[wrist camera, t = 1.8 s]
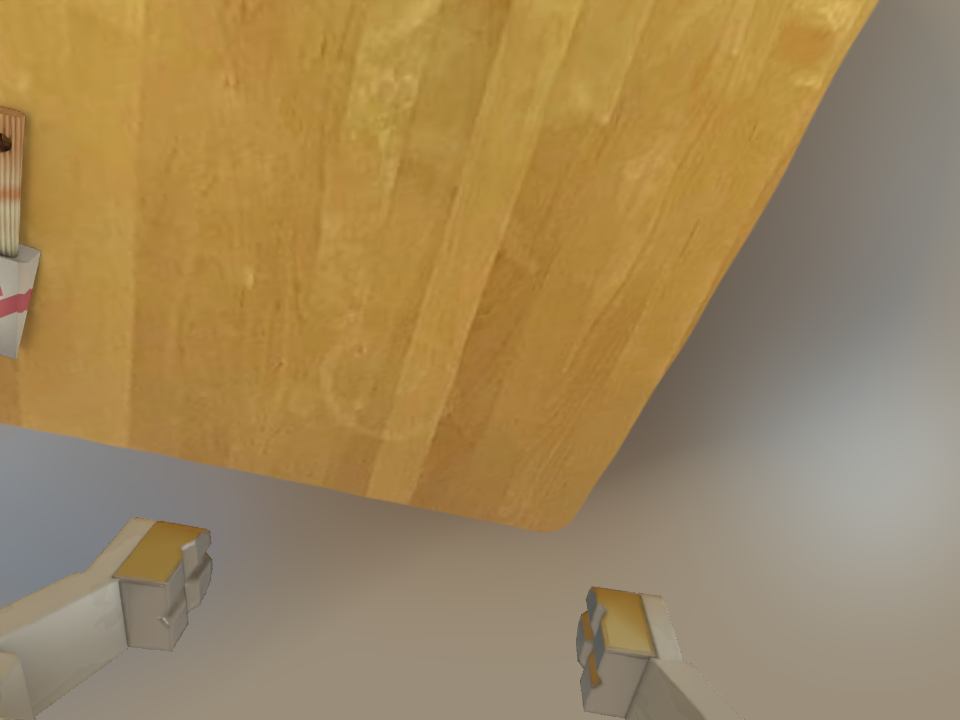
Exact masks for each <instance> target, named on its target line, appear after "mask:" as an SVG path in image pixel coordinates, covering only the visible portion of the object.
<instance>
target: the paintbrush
mask: <svg viewBox="0 0 960 720" xmlns="http://www.w3.org/2000/svg"><path fill="white" fill-rule="evenodd" d="M24 129H25V116H24V115H23V114H22V113H20V112H18V111H16V110H12V109H10V108H5V107H0V355H3V356H7V357H10V358H14V359H17V354H18V350H19V346H20V341H21V337H22V333H23V328H24V324H25V319H26V315H27V311H28V306H29V302H30V298H31V293H32V289H33V285H34V280H35V276H36V272H37V267H38V263H39V259H40V254H41V251H40V250H37V249H34V248H31V247H28V246H24V245H21V244H19V225H20V201H21V180H22V163H23V146H24ZM2 134H5V135H6V137H7V138H10V139H11V141H12V146H9V145H8V144H7V143H6V142H5V141H3V139H2Z"/></svg>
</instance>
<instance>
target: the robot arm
mask: <svg viewBox="0 0 960 720" xmlns="http://www.w3.org/2000/svg"><path fill="white" fill-rule="evenodd" d="M210 544H211V536H210V531H209V530H207V529H204V528H199V527H193V526H187V525H181V524H175V523H170V522H165V521H156V520H150V519H144V518H139V517H136V518H134V519H132V520H130V521H129V522H128V523H127V524H126V525H125V526H124V527H123V528H122V530H121V531H120V532H119V533H118V534H117V535H116V536H115V538H114V539H113V540H112V541H111V542H110V543H109V545H108V546H107V547H106V548H105V549H104V550H103V551H102V552H101V554H100V555H99V556H98V557H97V558H96V559H95V560H94V562H93V563H92V564H91V565H90V566H89V567H88V568H87V570H86V571H85V572H84V573H83V574H81V573H74V574H72V575H70V576H68V577H66V578H63V579H61V580H59V581H57V582H55V583H53V584H51V585H49V586H47V587H45V588H42V589H40V590H38V591H36V592H34V593H32V594H30V595H28V596H26V597H24V598H22V599H19V600H17V601H15V602H13V603H11V604H9V605H7V606H4V607H2V608H0V720H36V719H35V716H36V715H38V714H39V713H41V712H42V711H43V710H45V709H46V708H48V707H49V706H50V705H52V704H53V703H54V702H56V701H57V700H59V699H60V698H61V697H63V696H64V695H65V694H67V693H68V692H70V691H71V690H72V689H74V688H75V687H76V686H78V685H79V684H81V683H82V682H83V681H85V680H86V679H88V678H89V677H90V676H92V675H93V674H94V673H96V672H97V671H99V670H100V669H101V668H102V667H104V666H105V665H107V664H108V663H110V662H111V661H112V660H114V659H115V658H117V657H118V656H119V655H120V654H122V653H123V652H125V651H126V650H127V649H128V647H134V648H143V649H152V650H161V651H169V652H172V650H173V649H174V647H175V645H176V643H177V642H178V640H179V639H180V637H181V635H182V634H183V632H184V630H185V629H186V627H187V625H188V612H190V611H191V610H193V609H194V608H196V607H197V606H199V605H200V603H201V602H202V600H203V598H204V596H205V595H206V592H207V589H208V586H209V583H210V581H211V575H212V559H211V558H210V556H209V555H208V554H207V553H206V551H207V549H208V548H209V546H210ZM586 602H587V609H588V610H587V611H586V612H584V613H583V614H581V617H580V621H579V624H578V631H577V639H576V645H577V658H578V662H579V663H580V665H581V666H582V667H583V669H584V671H583V674H582V677H581V680H580V683H581V692H582V699H583V707H584V711H585V712H591V713H596V714H602V715H607V716H613V717H619V718H625V720H744V719H743V718H742V717H741V716H740V714H739V713H738V712H737V711H736V710H735V709H734V708H733V707H732V706H731V705H730V704H729V703H728V702H727V701H726V700H725V699H724V698H723V697H722V696H721V695H720V694H719V692H718V691H717V690H716V689H715V688H714V687H713V686H712V685H711V684H710V683H709V682H708V681H707V680H706V679H705V678H704V677H703V676H702V675H701V674H700V673H699V672H698V671H697V669H696V668H695V667H694V666H693V665H692V664H690V663H685V662H684V661H683V658H682V655H681V651H680V648H679V645H678V642H677V639H676V635H675V632H674V629H673V626H672V623H671V619H670V616H669V613H668V610H667V607H666V603H665V601H664V599H663V598H662V597H661V596H657V595H650V594H643V593H635V592H628V591H621V590H614V589H607V588H599V587H591V589H590V590H589V592H588V595H587V599H586Z"/></svg>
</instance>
